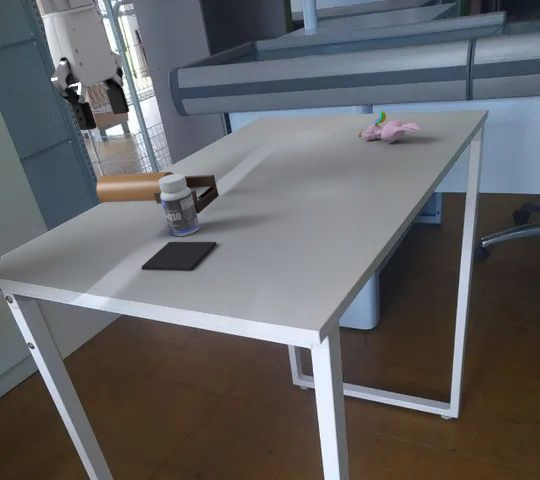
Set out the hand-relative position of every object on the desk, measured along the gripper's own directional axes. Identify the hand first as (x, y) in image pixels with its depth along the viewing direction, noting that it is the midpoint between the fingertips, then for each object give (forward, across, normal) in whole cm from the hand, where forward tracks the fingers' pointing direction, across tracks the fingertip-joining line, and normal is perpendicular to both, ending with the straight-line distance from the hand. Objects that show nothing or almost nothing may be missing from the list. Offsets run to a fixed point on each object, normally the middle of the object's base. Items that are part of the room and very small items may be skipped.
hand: (105, 120), depth 93 cm
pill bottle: (+15, +12, +18) cm, 26 cm away
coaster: (+15, +21, +22) cm, 34 cm away
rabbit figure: (+15, -29, +42) cm, 53 cm away
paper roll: (+15, +1, +3) cm, 15 cm away
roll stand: (+15, +1, +13) cm, 19 cm away
